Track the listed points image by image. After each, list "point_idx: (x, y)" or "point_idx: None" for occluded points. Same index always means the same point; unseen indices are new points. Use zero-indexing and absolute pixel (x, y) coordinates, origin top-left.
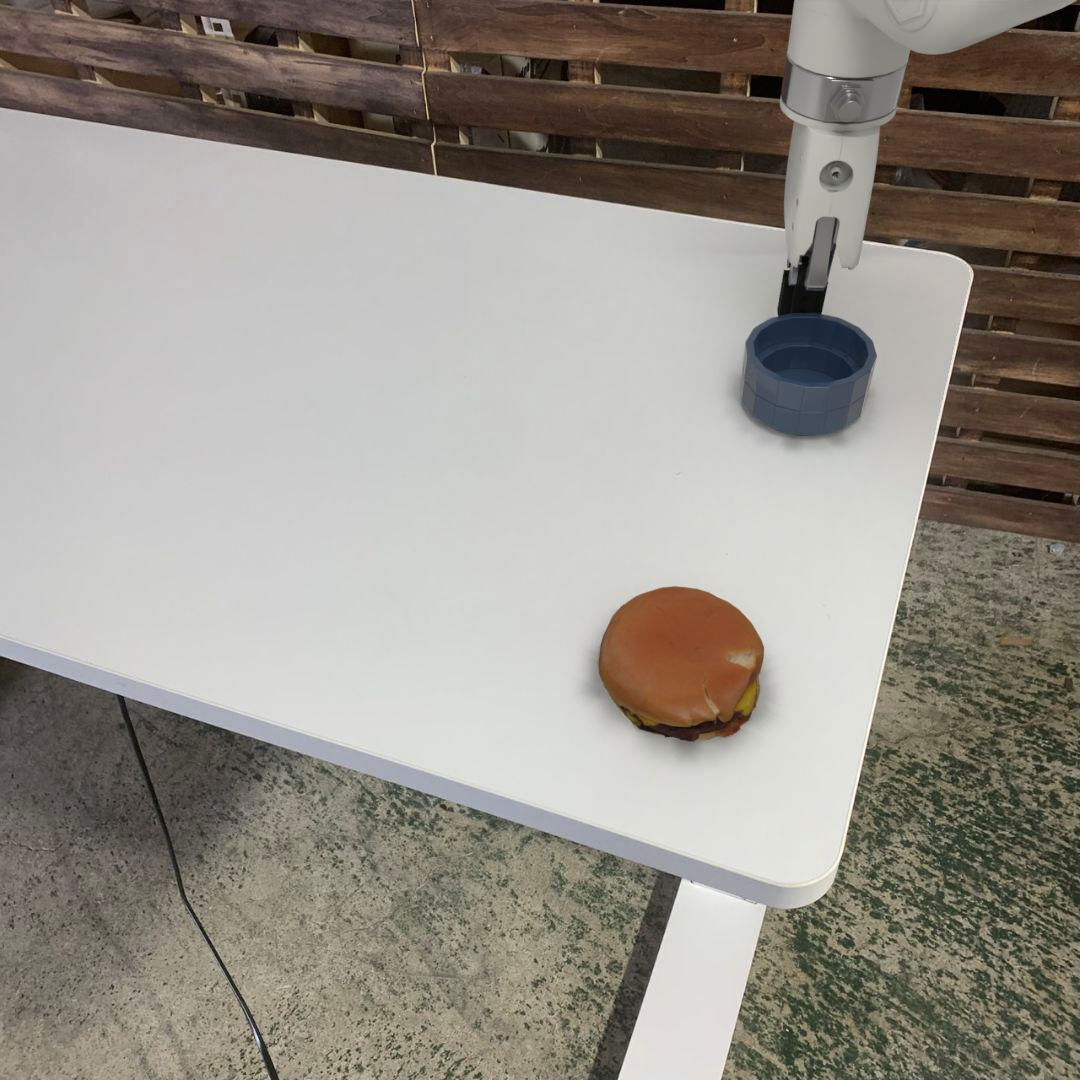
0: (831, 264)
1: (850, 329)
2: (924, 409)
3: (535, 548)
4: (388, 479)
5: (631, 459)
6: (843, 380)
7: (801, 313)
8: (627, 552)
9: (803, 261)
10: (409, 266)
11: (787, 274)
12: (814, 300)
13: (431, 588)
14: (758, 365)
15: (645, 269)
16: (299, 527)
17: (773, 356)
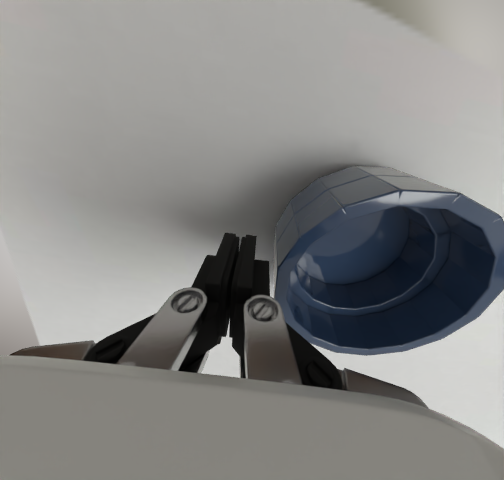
0: (298, 371)
1: (340, 223)
2: (418, 56)
3: (444, 400)
4: None
5: (379, 358)
6: (499, 267)
7: (278, 288)
8: (481, 370)
9: (205, 343)
10: None
11: (220, 338)
12: (269, 286)
13: None
14: (394, 350)
15: (119, 326)
16: None
17: (303, 283)
